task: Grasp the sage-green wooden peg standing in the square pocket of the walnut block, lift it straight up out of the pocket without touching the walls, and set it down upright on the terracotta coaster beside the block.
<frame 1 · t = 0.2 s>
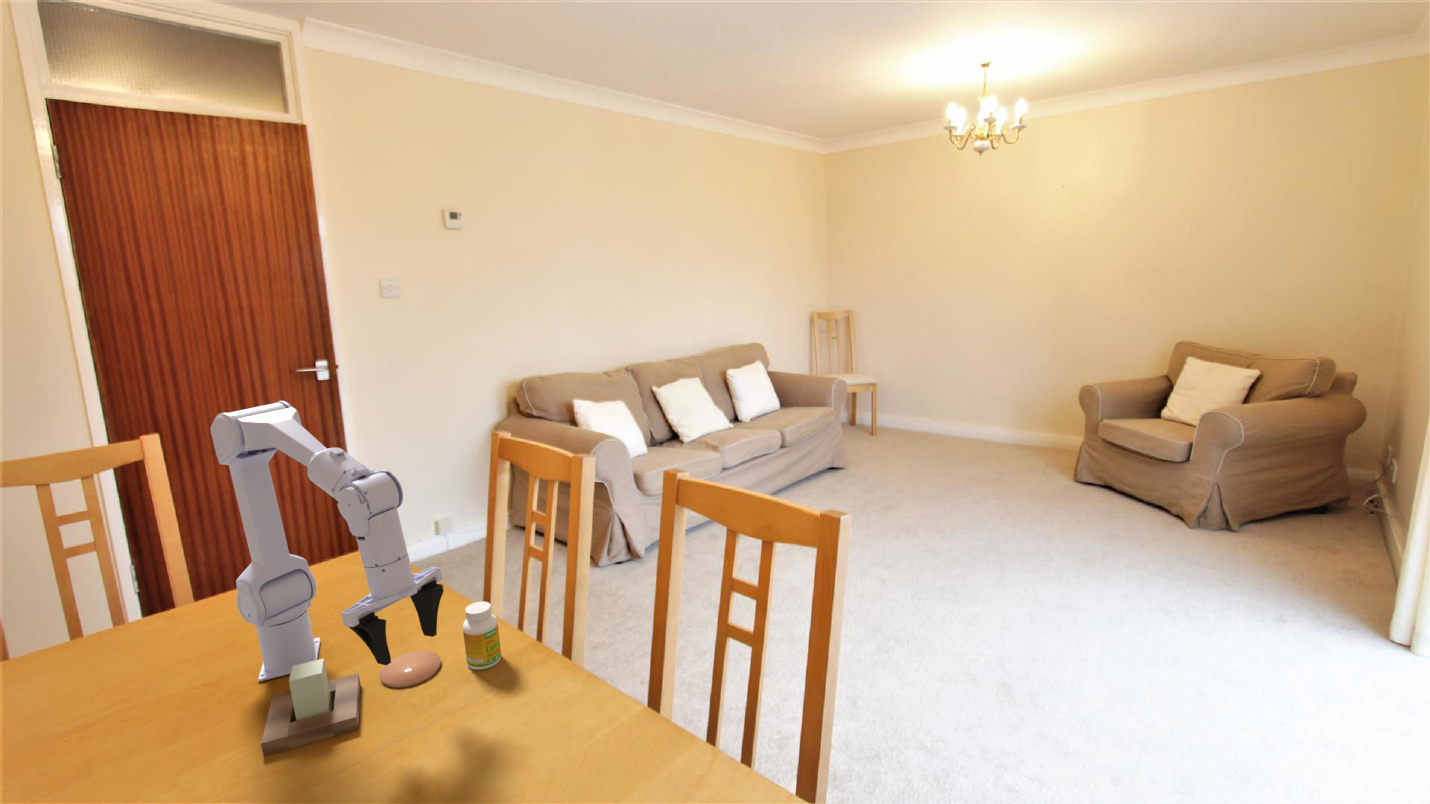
hand: (408, 648, 97), 11 cm above the table, tool pointing down, fingers open, 7 cm apart
supplement bottle: (484, 662, 111), on the table
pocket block: (315, 718, 99), on the table
peg: (311, 694, 98), in the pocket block
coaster: (411, 670, 109), on the table
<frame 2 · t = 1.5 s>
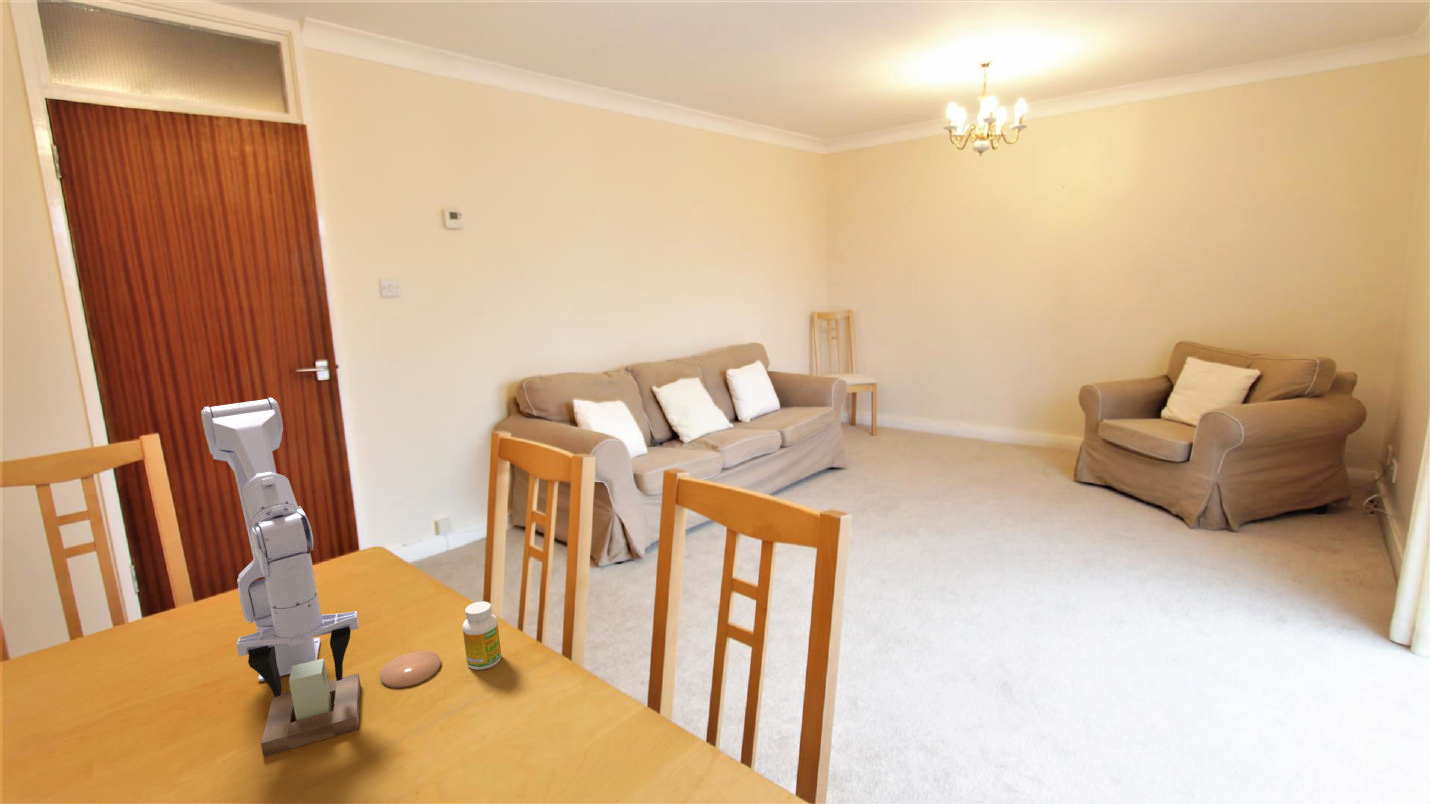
hand: (309, 684, 97), 6 cm above the table, tool pointing down, fingers open, 7 cm apart
nothing on the table moved.
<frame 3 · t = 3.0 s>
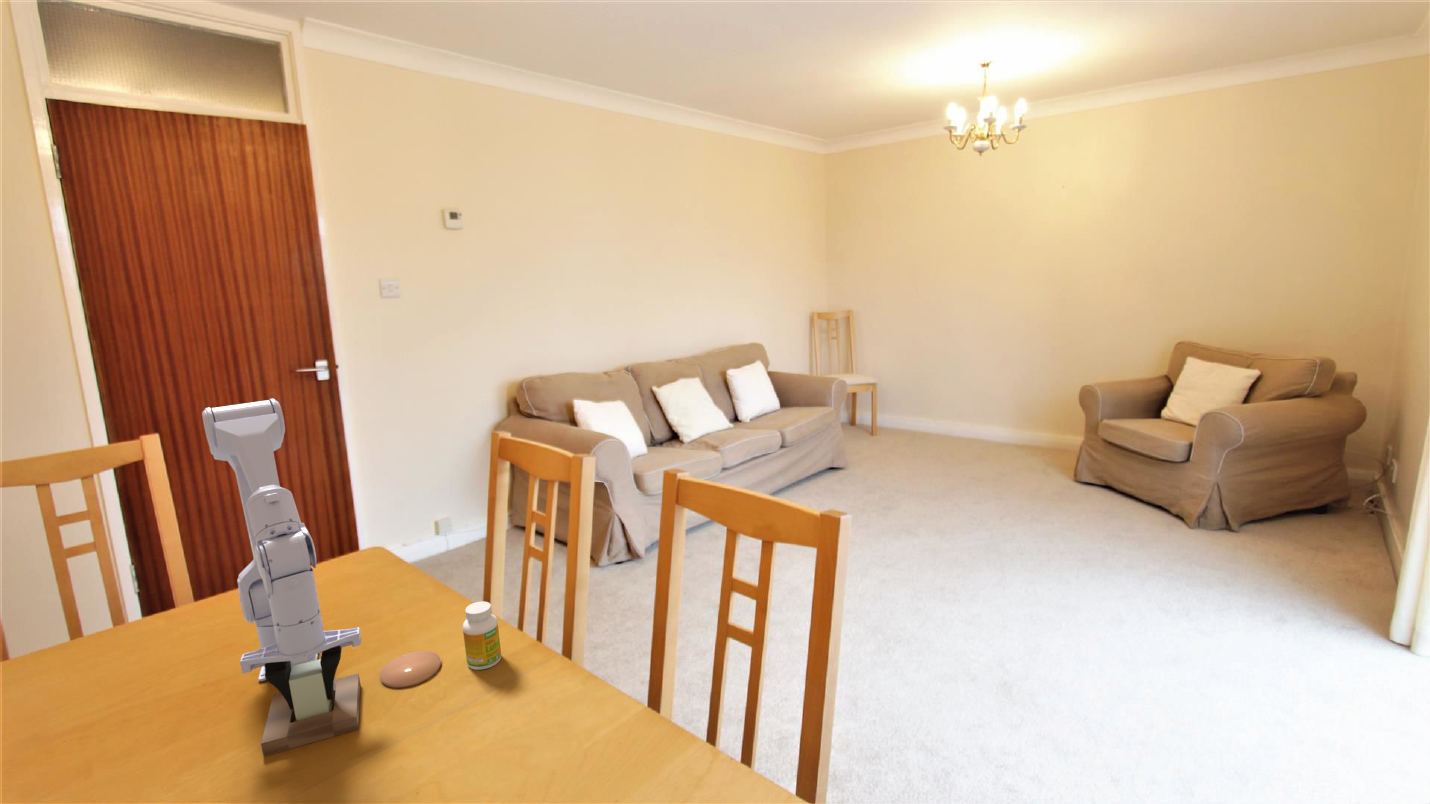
hand: (312, 700, 98), 3 cm above the table, tool pointing down, fingers closed on peg, 4 cm apart
peg: (311, 694, 98), in the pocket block, touching gripper
everything else where it was.
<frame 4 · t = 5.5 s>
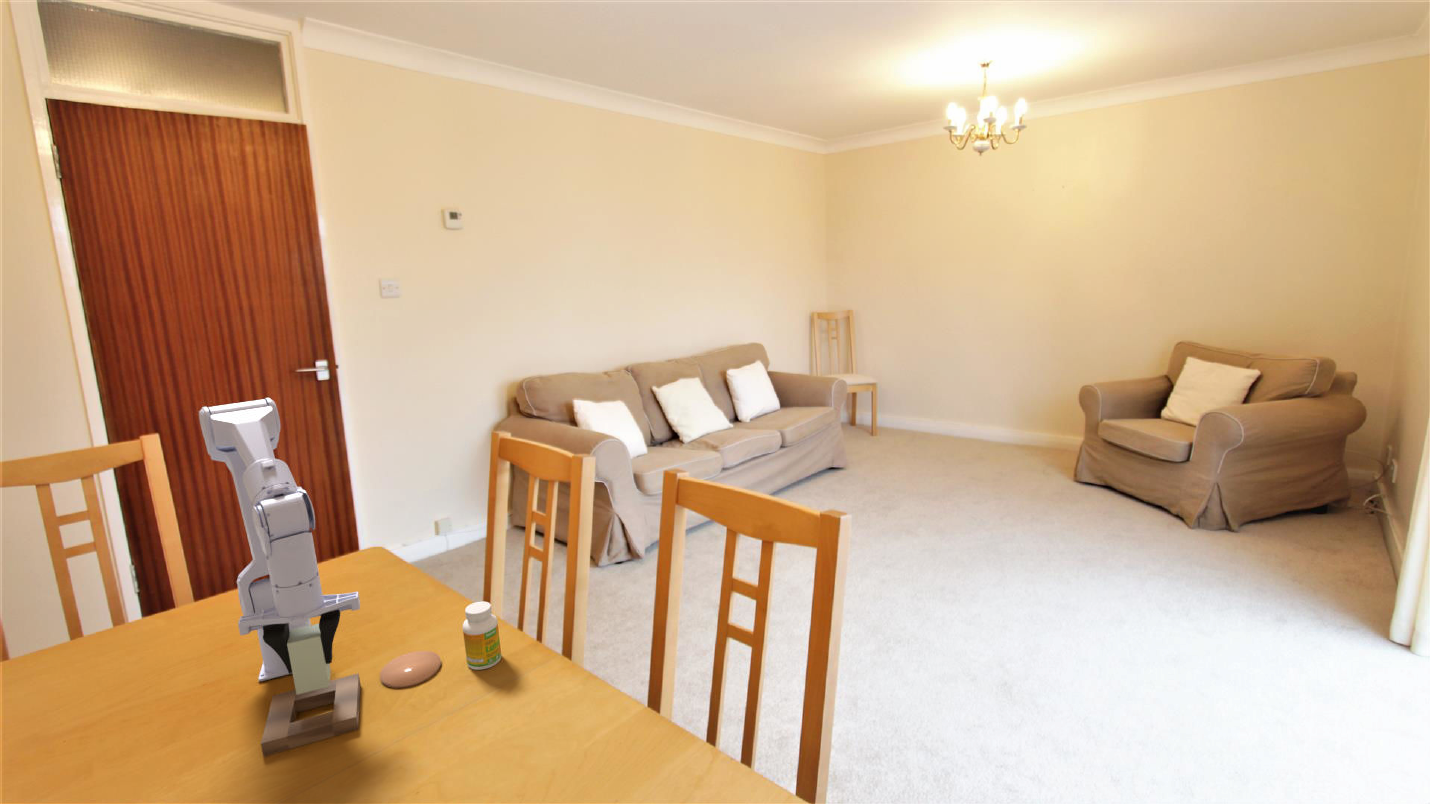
hand: (311, 664, 97), 8 cm above the table, tool pointing down, fingers closed on peg, 4 cm apart
peg: (309, 658, 97), point 10 cm above the table, touching gripper
everything else where it was.
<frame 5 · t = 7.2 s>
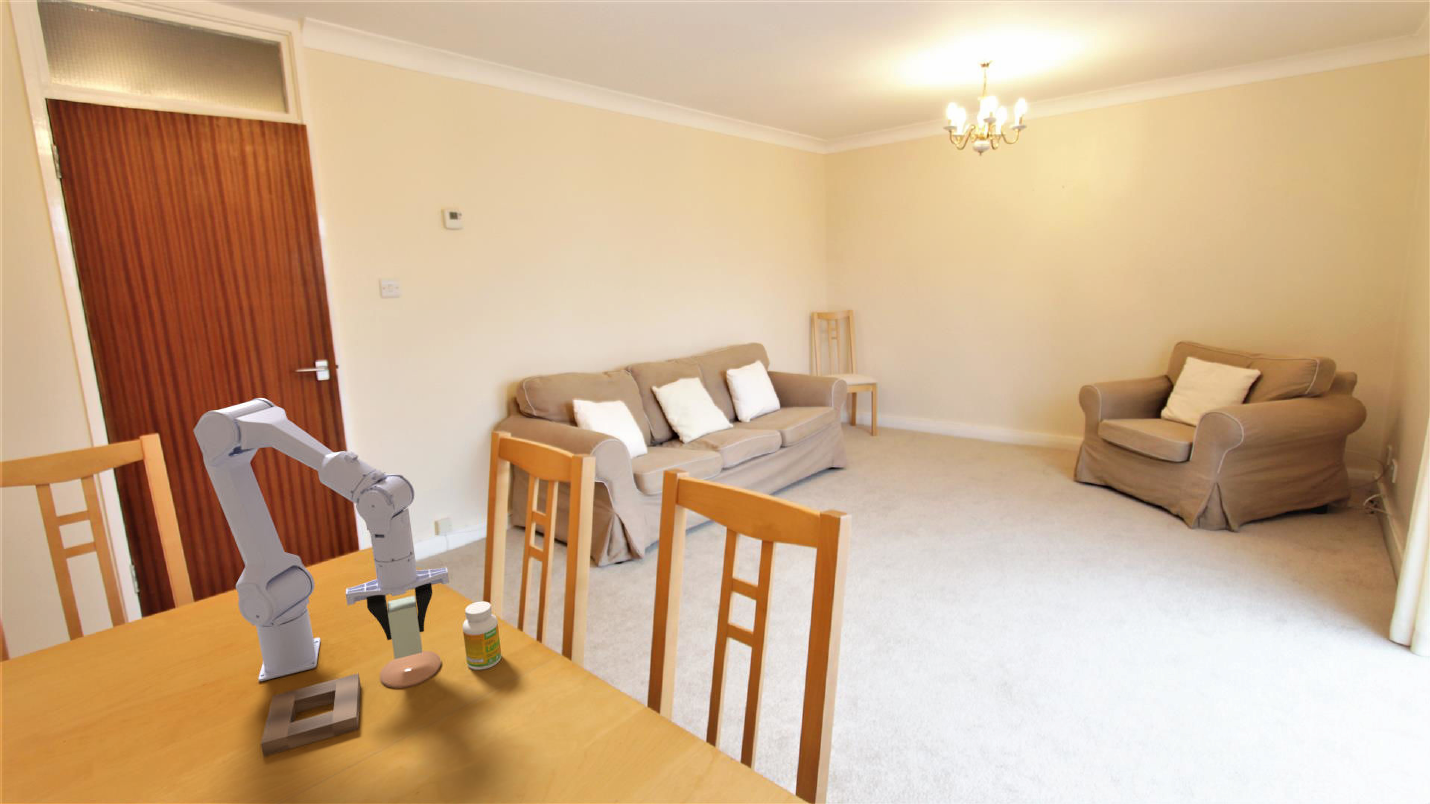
hand: (405, 633, 108), 7 cm above the table, tool pointing down, fingers closed on peg, 4 cm apart
peg: (404, 627, 107), point 8 cm above the table, touching gripper
everything else where it was.
when the fingers open (5 cm above the table, at t = 8.4 s): peg drops 1 cm, resting on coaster.
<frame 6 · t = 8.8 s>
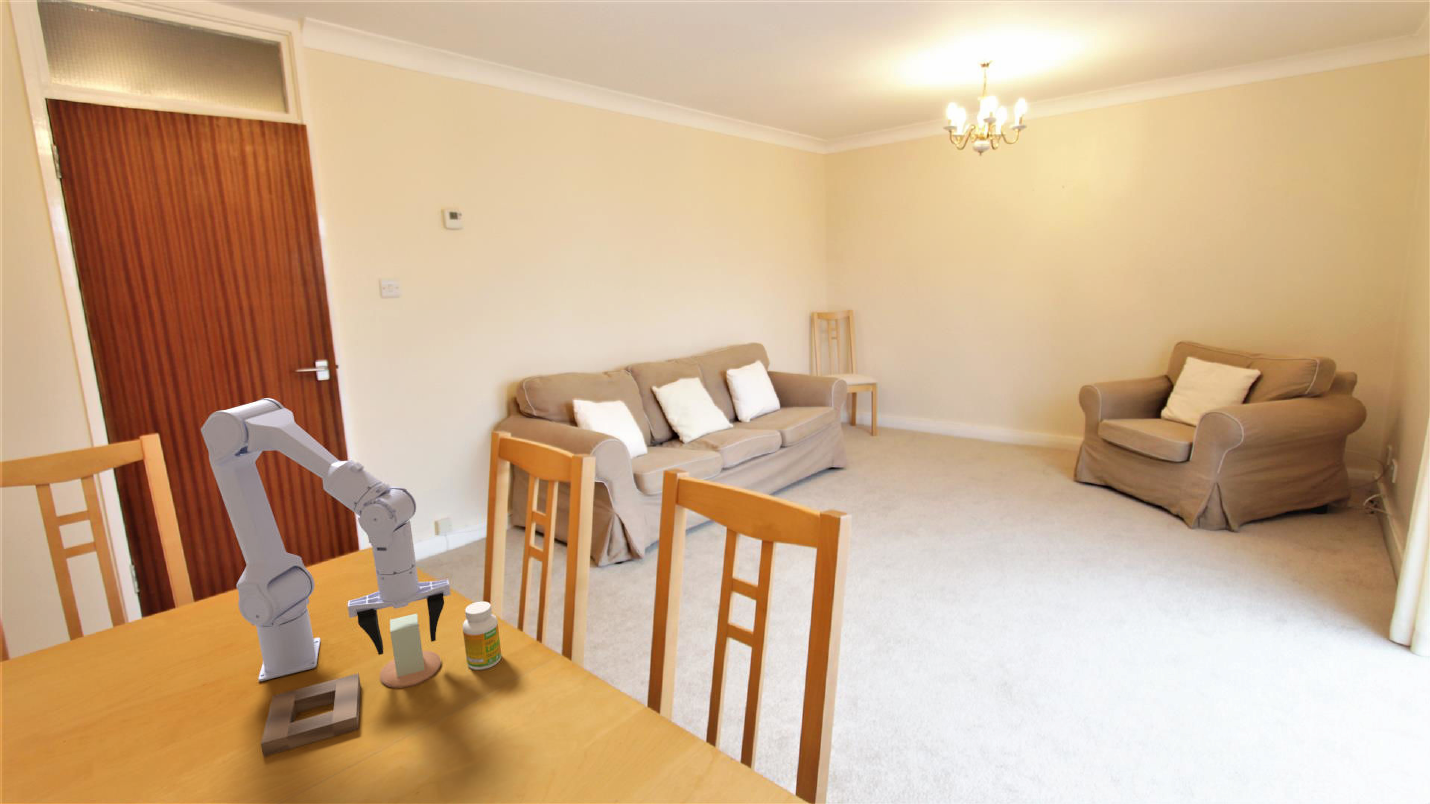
hand: (407, 644, 108), 5 cm above the table, tool pointing down, fingers open, 7 cm apart
peg: (407, 645, 108), on the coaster, point 5 cm above the table
everything else where it was.
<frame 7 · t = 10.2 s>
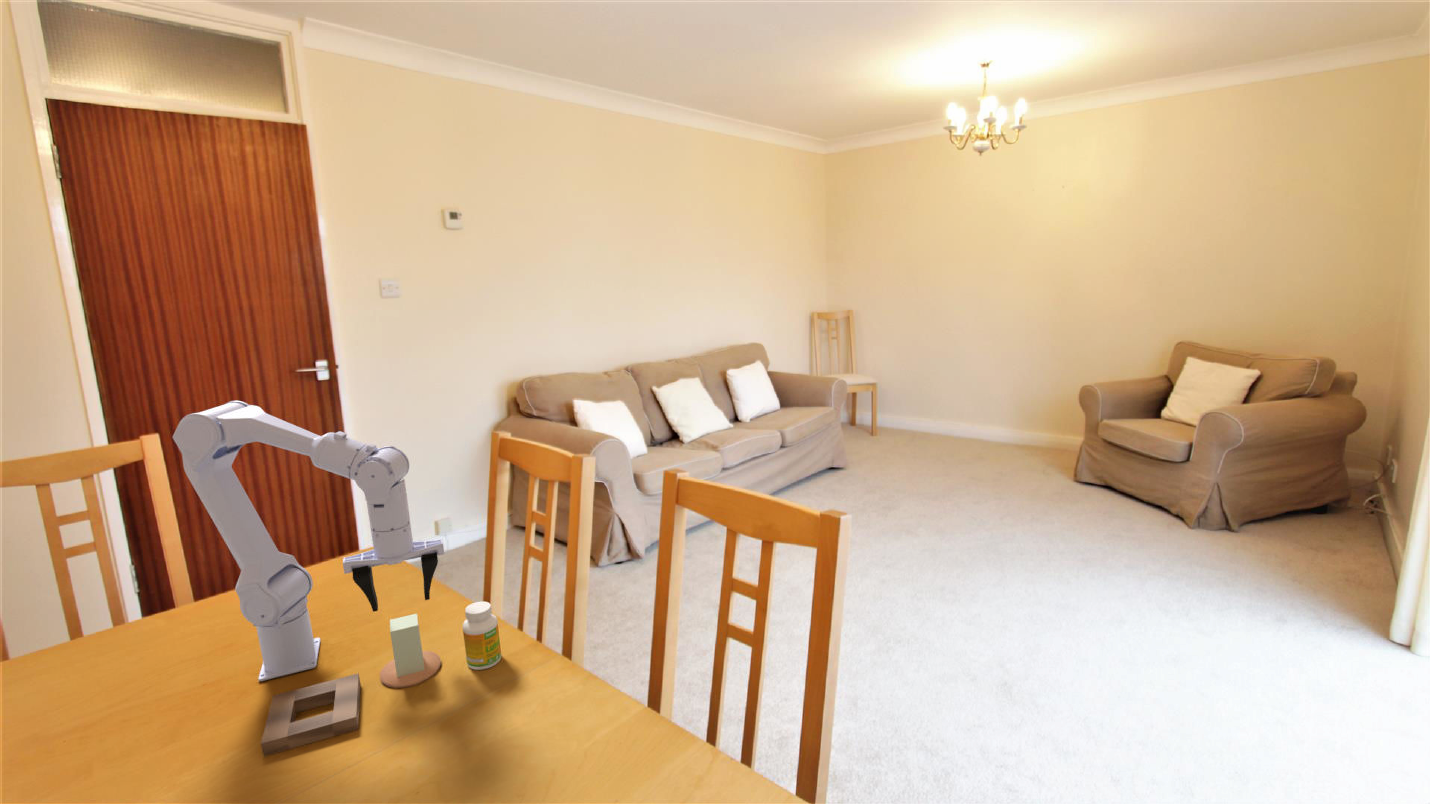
hand: (401, 602, 110), 10 cm above the table, tool pointing down, fingers open, 7 cm apart
nothing on the table moved.
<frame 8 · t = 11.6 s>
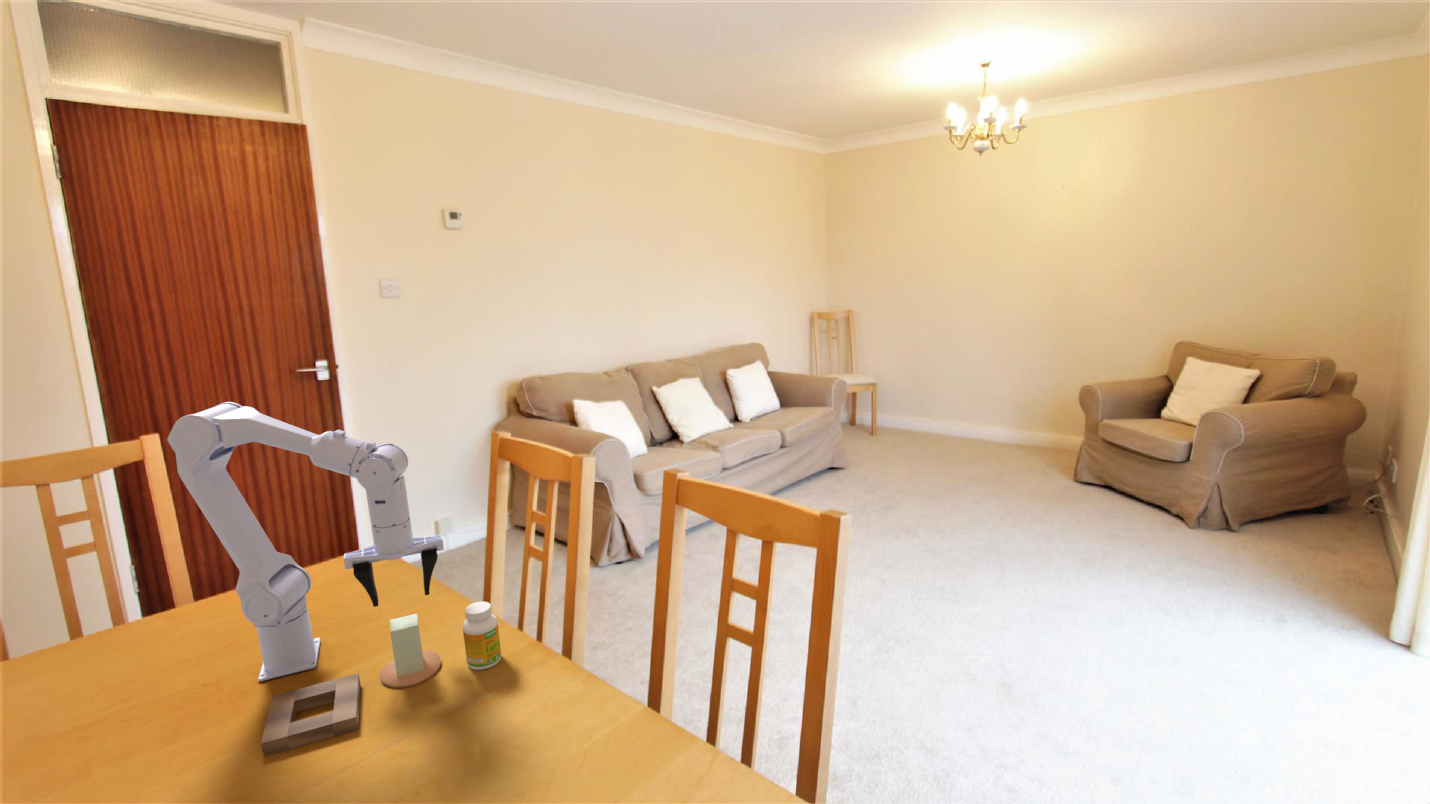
hand: (401, 598, 111), 10 cm above the table, tool pointing down, fingers open, 7 cm apart
nothing on the table moved.
at the end: peg 0.0 cm off-centre on the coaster, point 4.6 cm above the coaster's base; peg tilted 0°; the gripper is holding nothing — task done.
